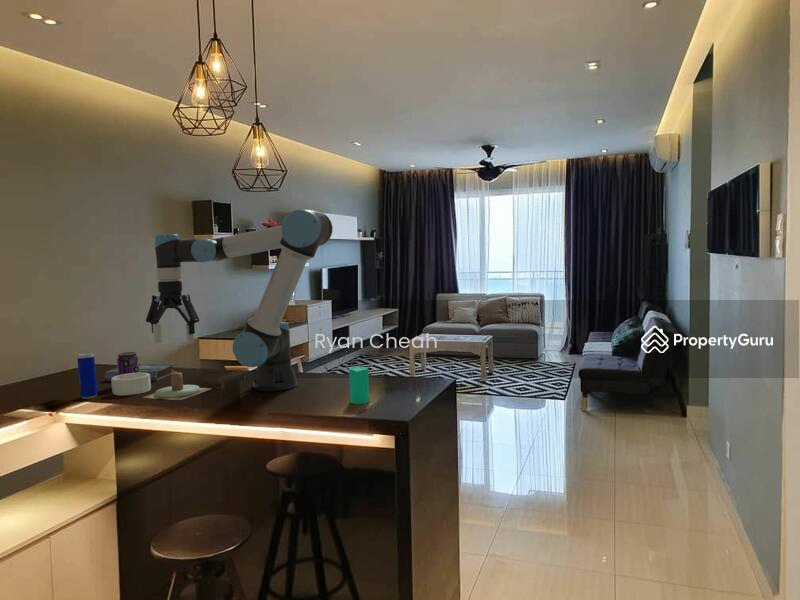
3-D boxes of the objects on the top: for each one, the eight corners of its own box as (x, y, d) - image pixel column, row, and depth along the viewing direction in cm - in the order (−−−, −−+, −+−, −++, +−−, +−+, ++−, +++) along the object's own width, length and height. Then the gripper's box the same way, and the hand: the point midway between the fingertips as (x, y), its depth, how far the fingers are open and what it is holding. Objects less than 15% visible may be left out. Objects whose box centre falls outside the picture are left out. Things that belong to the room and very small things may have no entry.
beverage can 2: (132, 387, 218) (129, 355, 217) (114, 387, 219) (112, 355, 218) (144, 383, 225) (141, 351, 224) (127, 382, 226) (124, 351, 225)
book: (105, 382, 230) (104, 369, 230) (130, 373, 246) (129, 361, 246) (156, 382, 227) (155, 369, 227) (178, 373, 244) (177, 361, 243)
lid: (208, 389, 207) (206, 370, 207) (180, 399, 194) (178, 378, 193) (175, 387, 212) (174, 368, 211) (146, 396, 199) (144, 377, 198)
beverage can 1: (84, 395, 208) (81, 353, 206) (100, 394, 208) (96, 352, 207) (78, 399, 202) (74, 355, 201) (93, 398, 203) (90, 354, 201)
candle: (346, 402, 185) (344, 364, 184) (358, 398, 190) (356, 360, 189) (361, 404, 182) (360, 365, 181) (373, 400, 187) (371, 362, 186)
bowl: (158, 389, 212) (157, 373, 212) (132, 398, 201) (131, 380, 201) (131, 388, 216) (130, 371, 216) (105, 396, 205) (103, 379, 205)
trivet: (212, 390, 208) (212, 388, 208) (180, 402, 193) (180, 400, 193) (175, 388, 213) (175, 386, 213) (141, 399, 198) (141, 397, 198)
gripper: (207, 279, 199) (211, 342, 201) (148, 280, 208) (152, 340, 209) (192, 280, 192) (196, 346, 194) (132, 281, 201) (136, 344, 202)
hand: (173, 343), depth 202 cm, fingers open, 13 cm apart
